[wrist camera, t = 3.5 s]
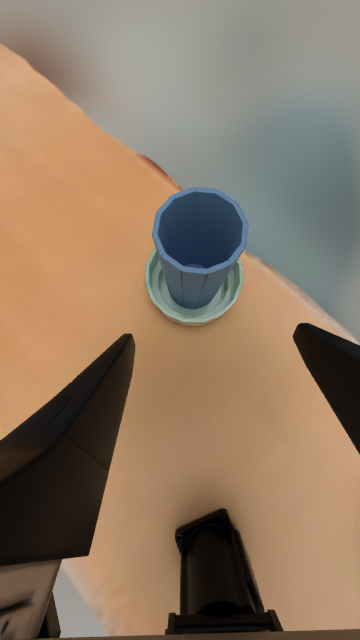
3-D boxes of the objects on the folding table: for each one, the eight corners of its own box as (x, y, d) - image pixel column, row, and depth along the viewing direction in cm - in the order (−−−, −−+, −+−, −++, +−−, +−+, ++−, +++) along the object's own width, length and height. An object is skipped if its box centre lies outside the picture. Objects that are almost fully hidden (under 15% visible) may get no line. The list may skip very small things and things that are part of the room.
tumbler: (179, 316, 22) (173, 287, 11) (161, 273, 23) (139, 206, 12) (224, 298, 23) (264, 251, 11) (204, 256, 24) (223, 174, 12)
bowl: (170, 339, 23) (166, 337, 18) (141, 267, 24) (132, 250, 20) (245, 308, 23) (259, 299, 18) (212, 239, 25) (218, 216, 20)
